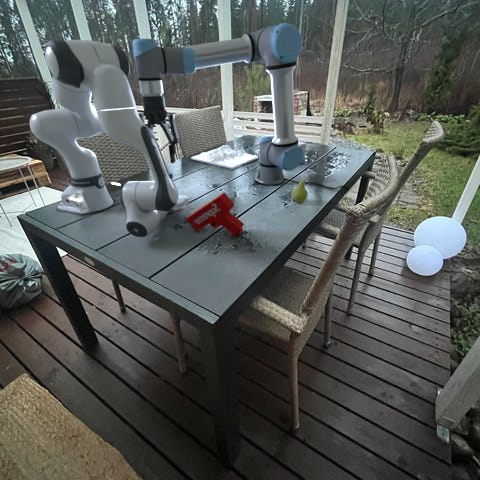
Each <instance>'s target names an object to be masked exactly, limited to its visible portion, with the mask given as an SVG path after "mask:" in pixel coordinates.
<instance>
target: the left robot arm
mask: <svg viewBox="0 0 480 480" xmlns="http://www.w3.org/2000/svg"><path fill="white" fill-rule="evenodd" d="M44 57H45V63H46V65H47V68H48V70H49V72H50V74H51V76H52V80H51V81H52V82H51V83H52V87H51V88H52V95H53V97H54V99H55V101H56V102H57V103H58V104H59V105H60V106H61V107H62V108H54V109H45V110H42V111H39V112H36V113H33V114H31V116H30V117H29V128H30V131H31V132H32V134H33V135H34V137H35V138H36V139H37V140H39V141H40V142H42V143H44V144H47V145H49V146H50V147H52V148H54V149H55V150H56V151H57V152H58V153H59V154H60V155H61V156H62V158H63V159H64V162H65V163H66V166H67V168H68V171H69V174H70V175H69V176H68V177H66V178H65V180H66V182H68V181H69V185H68V186H67V187H66V188H65V189H64V190H63V191H62V192H61V194H60V200H61V202H60V204H58V205H57V210H58V211H62V212H67V213H73V214H78V215H87V214H91V213H94V212H99V211H103V210H105V209H107V208H109V207H111V206H112V205H113V204H114V200H113V198H112V197H111V195H110V193H109V190H108V188H107V186H106V183H105V178H104V175H103V172H102V170H101V168H100V164H99V161H98V158H97V155H96V154H95V153H94V151H93V150H92V149H91V150H90V149H88V148H85V147H81V146H80V145H79V144H78V142H77V140H81V139H86V138H93V137H95V136H98V135H100V134H101V133H105V134H106V135H107V136H108V137H109V138H110V139H112V140H114V141H115V142H118V143H121V144H124V145H127V146H130V147H132V148H134V149H136V150H138V151H139V152H140V153H141V154H142V155H143V156H144V158H145V160H146V163H147V165H148V168H149V170H150V172H151V175H152V178H153V180H134V181H126V182H125V183H124V184H123V186H122V187H121V183H119V182H115V181H112V182H111V185H115V186H120V187H121V189H120V192H119V201H120V203H121V206H122V208H123V209H124V211H125V213H126V220H125V229H126V231H127V232H128V233H129V234H131V235H132V236H133V237H137V238H146V237H148V236H150V235H151V234H152V233H153V232H154V231H155V230H156V229H157V228H158V226H159V225H160V223H161V222H162V221H164V219H165V218H166V216H167V215H168V214H169V212H168V211H171V212H170V213H180V212H183V211H185V210H186V209H187V208H188V206H189V203H190V202H189V197H188V196H186V195H185V196H183V195H179V193H178V189H177V187H176V185H175V183H174V182H173V178H172V179H171V177H170V175H169V172H168V171H169V169H168V166H167V164H166V161H165V159H164V155H163V154H162V151H161V148H160V145H159V142H158V140H157V138H156V136H155V134H154V132H152V130H151V129H150V128H148V127H147V125H146V124H145V125H144V123H143V122H142V120H141V119H140V117H139V115H138V114H139V112H138V108H137V105H136V100H135V97H134V94H133V91H132V87H131V85H130V83H129V76H130V74H131V73H130V72H131V66H130V61H129V58H128V56H127V54H126V52H125V50H123V48H122V47H120V46H119V45H116V44H114V43H110V42H101V41H96V40H91V39H63V38H56V39H50V40H48V41H47V42H46V44H45V46H44ZM92 100H93V104H94V105H92Z"/></svg>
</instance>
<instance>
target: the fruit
mask: <svg viewBox="0 0 480 480" xmlns="http://www.w3.org/2000/svg"><path fill="white" fill-rule="evenodd" d="M310 177H311V175H310V174H309V175H308V176H307V177H305V179H302V180H301V181H299V182H300V183H297V185H296V186H295V187H294V188H293V190H292V191H291V198H292V200H293V201H294V202H295V203H297V204H301V203H304V202H305V201H306V200H307V198H308V196H309V195H308V190H307V189H306V183H305V182H306V180H308V179H309V178H310Z"/></svg>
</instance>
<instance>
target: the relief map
mask: <svg viewBox="0 0 480 480" xmlns="http://www.w3.org/2000/svg"><path fill="white" fill-rule="evenodd" d="M190 159H191V160H193V161H198V162H201V163H206V164H209V165H214V166H217V167H222V168H226V169H231V170H234V169H236V168H240V167H241V166H244V165H246V164H248V163H251V162H254V161H256V160H259V155H257V154H255V155H254V154H250V153H248V152H247V151H246V150H245V149H244V148H240V149H238V150H234V149H233V148H232V147H231V146H230V145H228V144H226V145H225V144H223V145H221V146H220V147H217V148H216V149H212V150H209V151H206V152H205V151H202V152H201V153H200V154H198V155H194V156H191V157H190Z"/></svg>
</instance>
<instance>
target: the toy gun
mask: <svg viewBox="0 0 480 480" xmlns="http://www.w3.org/2000/svg"><path fill="white" fill-rule="evenodd" d="M234 207H235V203H234V202H233V201H232V199H231V198H230V197H229V196H228V194H227V193H226V192H222V193H221V194H219V195H218V196H216V197H214V198H213V199H211V200H210V201H208V202H207V203H205V204H204V205H202V206H201V207H200V208H198V209H197V210H195V211H193V212H192V213H190V215H189V216H188V217H187V218H186V221H187V223H188V224H189V225H190V226H191V228H192V229H193V231H197V232H198V231H200V230H202V229H203V228H205V227H207V226H208V225H210V226H211V228H212V229H217V228H219V227H220V226H221V227H223V228H224V229H225V230H226V231H227V232H229V234H231V237H232V238H234V237H235V236H240V235H241V233H242V231H243V230H244V229H243V227H244V225H245V223H244V222H243V221H241V220H240V219H239V218H237V217H236V216H235V215H234V214H233V213H232V212H231V210H232V209H233V208H234Z"/></svg>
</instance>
